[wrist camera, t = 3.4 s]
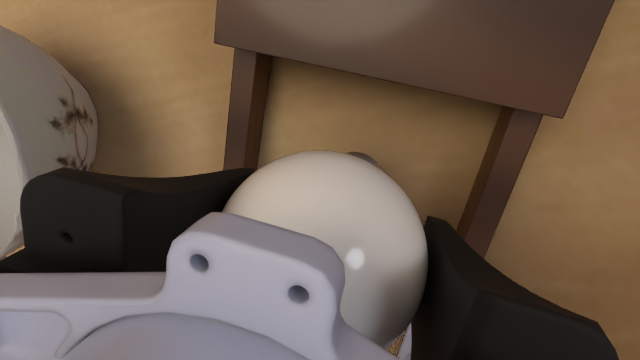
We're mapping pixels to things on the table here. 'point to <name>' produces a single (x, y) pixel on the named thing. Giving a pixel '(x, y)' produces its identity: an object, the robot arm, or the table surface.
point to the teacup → (37, 126)
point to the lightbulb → (348, 231)
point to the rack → (422, 67)
